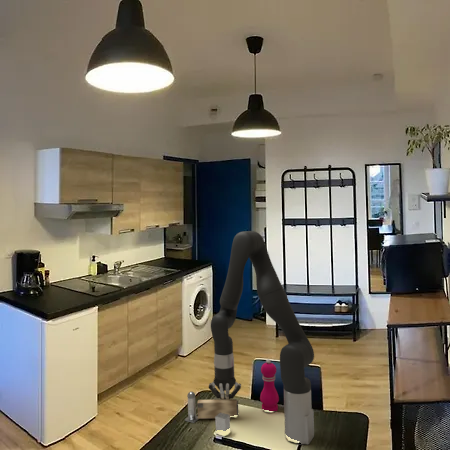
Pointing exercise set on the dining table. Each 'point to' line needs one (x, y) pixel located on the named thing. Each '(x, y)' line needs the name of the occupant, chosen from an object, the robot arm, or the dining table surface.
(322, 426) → the dining table surface
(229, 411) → the gate
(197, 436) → the dining table surface
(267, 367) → the pepper mill
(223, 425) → the grey block
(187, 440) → the dining table surface
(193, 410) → the hinge post
